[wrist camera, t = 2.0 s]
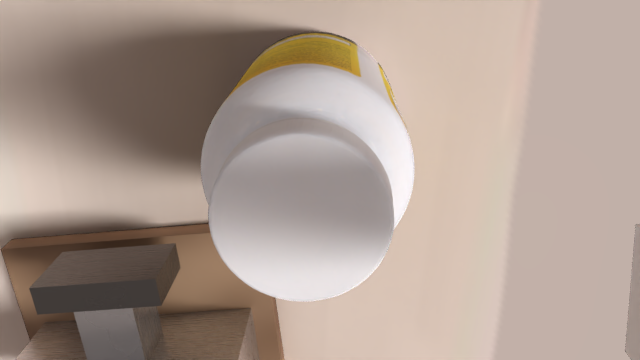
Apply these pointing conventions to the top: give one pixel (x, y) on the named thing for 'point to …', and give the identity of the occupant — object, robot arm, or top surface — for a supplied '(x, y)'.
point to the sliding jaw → (129, 311)
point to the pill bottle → (307, 169)
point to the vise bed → (185, 293)
